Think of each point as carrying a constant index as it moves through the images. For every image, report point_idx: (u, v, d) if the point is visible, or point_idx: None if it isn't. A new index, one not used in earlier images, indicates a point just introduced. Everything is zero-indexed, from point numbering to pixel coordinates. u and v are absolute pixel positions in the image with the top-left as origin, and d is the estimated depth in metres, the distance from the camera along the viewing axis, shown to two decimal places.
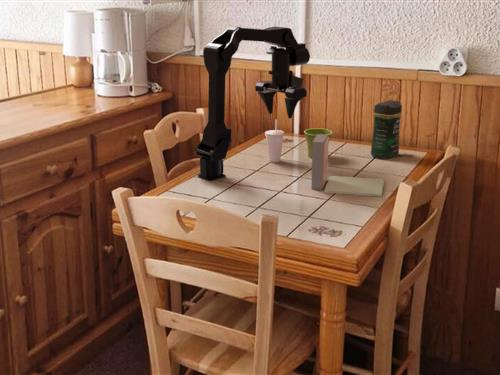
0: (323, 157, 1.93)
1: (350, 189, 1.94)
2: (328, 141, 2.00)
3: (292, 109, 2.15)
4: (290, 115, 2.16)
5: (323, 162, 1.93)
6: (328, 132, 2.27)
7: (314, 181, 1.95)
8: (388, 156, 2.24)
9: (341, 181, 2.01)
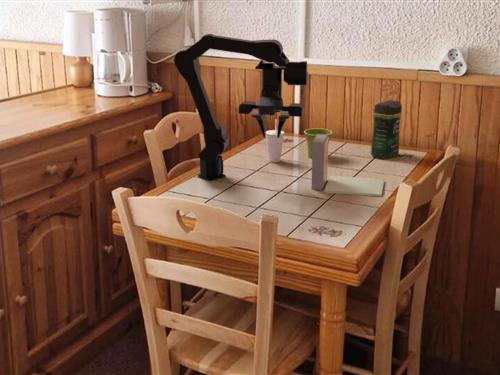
0: (323, 157, 1.93)
1: (350, 189, 1.94)
2: (328, 141, 2.00)
3: None
4: None
5: (323, 162, 1.93)
6: (328, 132, 2.27)
7: (314, 181, 1.95)
8: (388, 156, 2.24)
9: (341, 181, 2.01)
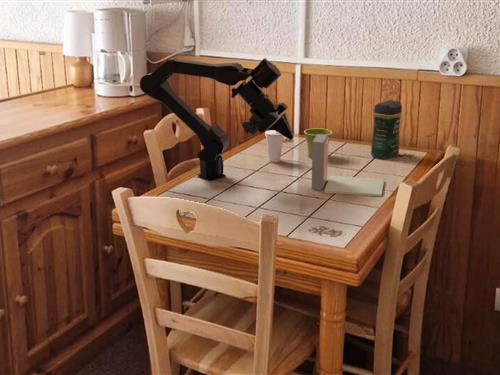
0: (323, 157, 1.93)
1: (350, 189, 1.94)
2: (328, 141, 2.00)
3: None
4: None
5: (323, 162, 1.93)
6: (328, 132, 2.27)
7: (314, 181, 1.95)
8: (388, 156, 2.24)
9: (341, 181, 2.01)
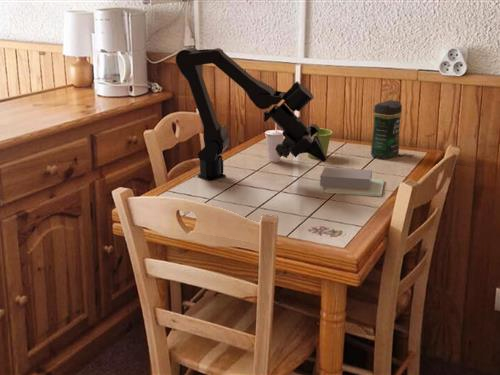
0: (353, 188, 1.94)
1: (350, 189, 1.94)
2: None
3: None
4: None
5: (348, 188, 1.94)
6: (328, 132, 2.27)
7: (328, 179, 1.94)
8: (388, 156, 2.24)
9: None
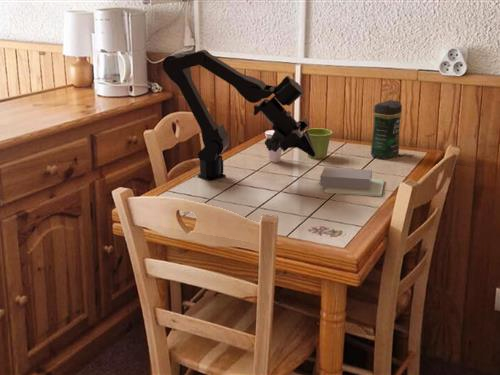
0: (353, 188, 1.94)
1: (350, 189, 1.94)
2: None
3: None
4: None
5: (348, 188, 1.94)
6: (328, 132, 2.27)
7: (328, 179, 1.94)
8: (388, 156, 2.24)
9: None
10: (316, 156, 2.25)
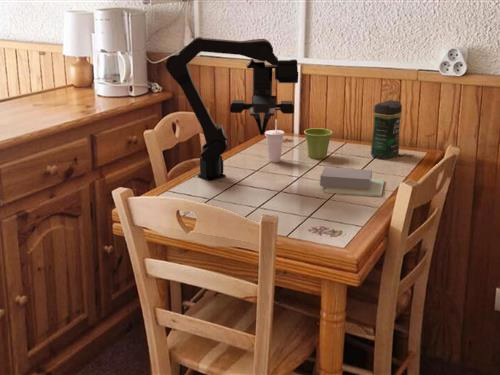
0: (353, 188, 1.94)
1: (350, 189, 1.94)
2: None
3: None
4: None
5: (348, 188, 1.94)
6: (328, 132, 2.27)
7: (328, 179, 1.94)
8: (388, 156, 2.24)
9: None
10: (316, 156, 2.25)
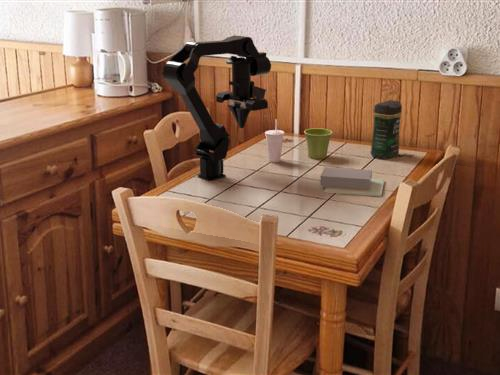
0: (353, 188, 1.94)
1: (350, 189, 1.94)
2: None
3: (244, 119, 2.10)
4: (242, 125, 2.11)
5: (348, 188, 1.94)
6: (328, 132, 2.27)
7: (328, 179, 1.94)
8: (388, 156, 2.24)
9: None
10: (316, 156, 2.25)
